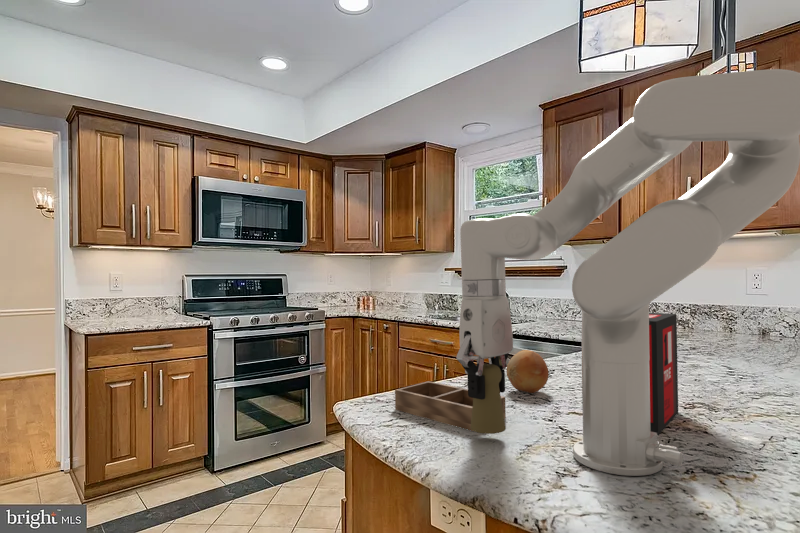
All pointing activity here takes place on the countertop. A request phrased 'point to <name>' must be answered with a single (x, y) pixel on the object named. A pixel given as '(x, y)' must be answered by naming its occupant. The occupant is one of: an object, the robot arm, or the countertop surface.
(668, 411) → the cleaning product box
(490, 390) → the cork
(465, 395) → the wooden divided tray
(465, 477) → the countertop surface
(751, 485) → the countertop surface
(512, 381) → the onion
